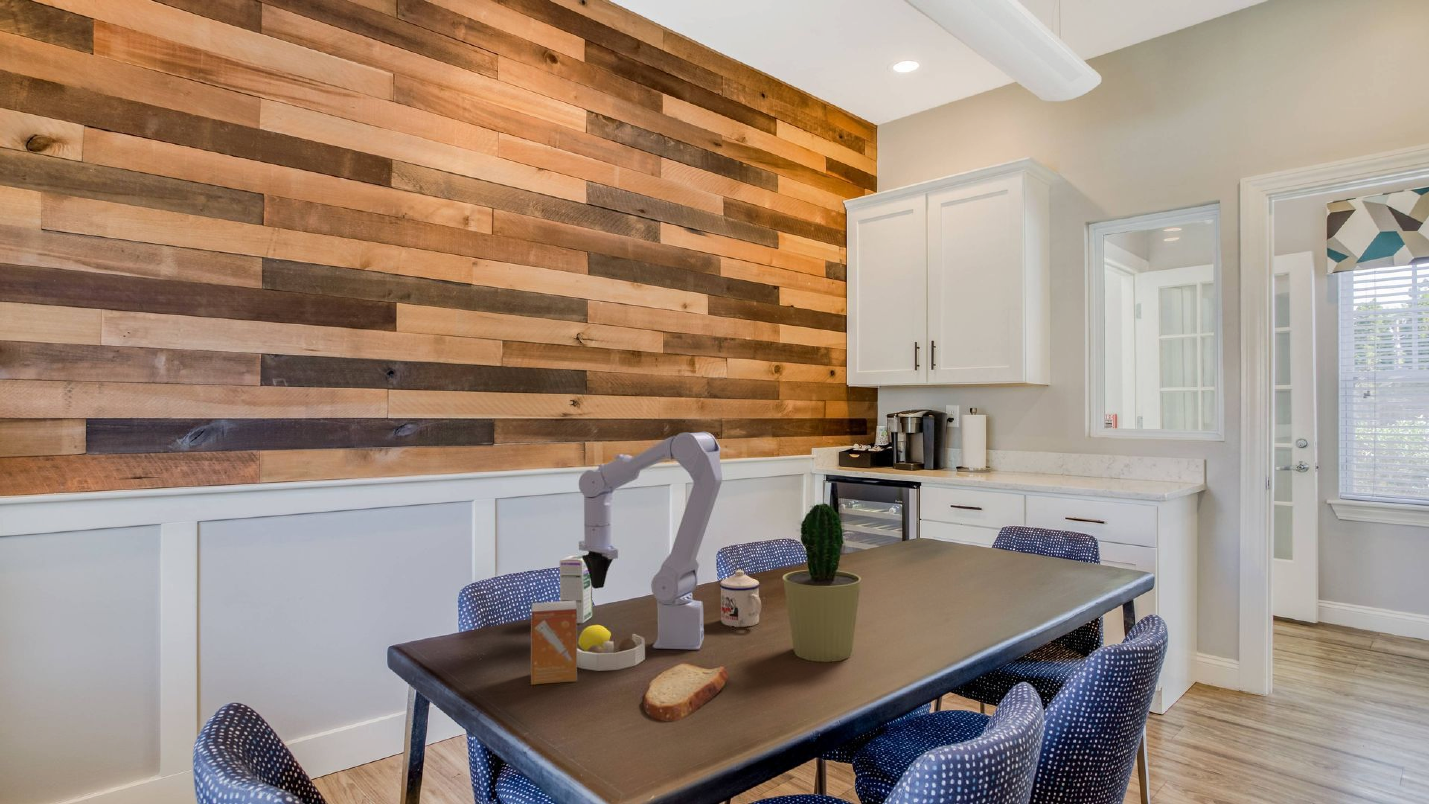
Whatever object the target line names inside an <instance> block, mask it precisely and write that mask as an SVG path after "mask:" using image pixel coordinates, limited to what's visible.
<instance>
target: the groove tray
mask: <svg viewBox="0 0 1429 804" xmlns="http://www.w3.org/2000/svg"><path fill="white" fill-rule="evenodd" d="M631 639H632V640H633V641H634V642H635V644H636V647H635V648H633V649H630V650H626V651H621V652H619V651H617V652H614V651H615V646H614V644H615V642H614V641H612V640H609V641H605V642H603V650H604V653H592V652H585V651H584V650H582V649H581V648H578V647H577V668H578V669H579V668H580V669H584V670H591V671H596V672H597V671H599V672H600V671H619V670H623V669H626V668H632V667H634V666H637V665H639V664H640V663H641V662H643V661H644V660H646V641H645V637H643V636H640V635H638V634H636V633H632V634H631Z"/></svg>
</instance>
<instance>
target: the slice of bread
mask: <svg viewBox="0 0 1429 804" xmlns="http://www.w3.org/2000/svg"><path fill="white" fill-rule="evenodd" d="M729 676H730V675H729V672H728V671H727V668H725V666H719V667H715V668H711V669H708V668H703V667H699V666H696V665H693V664H690V663H678V664H677V665H675V666H672V667H670V668H669V669H667V670H665V671H662V672H661V673H660V674H658V675H657V676H655V678H654V679H652V680H651V681H650V682H649V684H648V690H647V691H646V692H645V694H644V699H643V700H644V701H643V708H644V711H645V713H647V714H648V715H649V716H650V717H652V718H654V719H656V720H659V721H664V722H675V721H680V720H682V719H684V718H685V717H688V716H689V715H691V714H694V713H695V712H696V711H698V710H699V709H701V707H703V706H704V705H706V704H707V703H708V702H710V701H711V700H712V699H713V698H714V697H715V696H717V694H718V693H719V692H720V691H722V690H723V688H724V686H725V685H726V683H727V681H728V679H729Z"/></svg>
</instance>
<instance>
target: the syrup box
mask: <svg viewBox="0 0 1429 804" xmlns="http://www.w3.org/2000/svg"><path fill="white" fill-rule="evenodd" d="M583 555H584V554H583ZM583 555H582V554H579V555H568V556H567V557H565V558H563V559H560V560H559V594H560V596H559V601H574V600H575V601H576V606H577V624H584V623H585V622H587V621H589V619H591V618H593V616H594V615H593V614H594V613H593V587H592V584H591V580H590V575H589V572H588V569H587V566H586V564H585V562H584V560H583V559H582V556H583Z"/></svg>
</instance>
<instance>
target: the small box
mask: <svg viewBox="0 0 1429 804" xmlns="http://www.w3.org/2000/svg"><path fill="white" fill-rule="evenodd" d="M530 622H531V623H530V684H531V685H532V686H533V685H539V684H541V685H542V684H553V683H567V682H577V680H578V669H577V668H578V667H577V648H578V623H577V606H576V601H575V600H574V601H560V600H559V601H558V600H557V601H546V602H533V603H531V618H530Z"/></svg>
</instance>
